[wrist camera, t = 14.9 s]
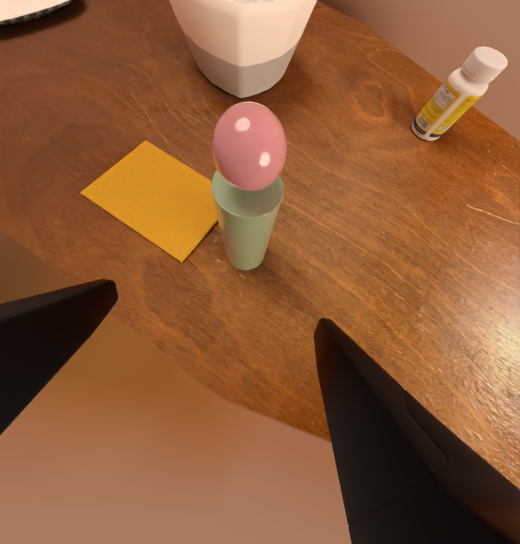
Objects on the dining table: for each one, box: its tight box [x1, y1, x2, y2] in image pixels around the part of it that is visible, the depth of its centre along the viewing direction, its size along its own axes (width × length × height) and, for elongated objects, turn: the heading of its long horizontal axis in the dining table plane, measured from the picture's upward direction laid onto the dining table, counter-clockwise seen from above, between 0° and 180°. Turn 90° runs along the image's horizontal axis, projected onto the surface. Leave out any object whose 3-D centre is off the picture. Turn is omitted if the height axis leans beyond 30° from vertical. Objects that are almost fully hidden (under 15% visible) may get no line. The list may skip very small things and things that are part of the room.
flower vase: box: [211, 102, 287, 270], centre depth 14 cm, size 4×4×14 cm
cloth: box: [80, 140, 218, 262], centre depth 22 cm, size 14×10×1 cm
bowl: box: [169, 0, 317, 98], centre depth 25 cm, size 18×18×9 cm
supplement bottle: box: [412, 47, 508, 141], centre depth 26 cm, size 5×5×8 cm
